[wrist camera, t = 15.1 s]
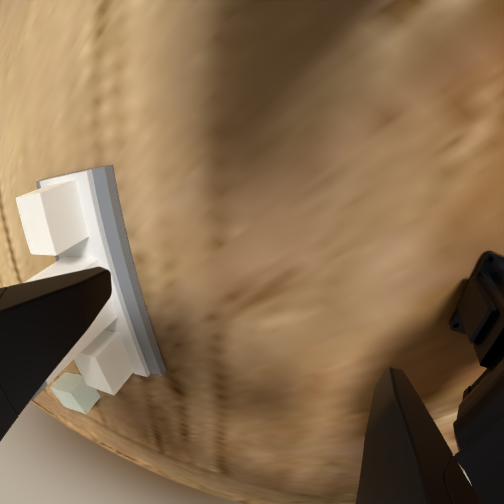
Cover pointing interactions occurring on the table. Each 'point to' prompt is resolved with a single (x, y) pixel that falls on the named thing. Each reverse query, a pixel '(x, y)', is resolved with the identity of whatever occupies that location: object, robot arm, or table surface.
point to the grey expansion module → (99, 323)
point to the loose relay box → (75, 392)
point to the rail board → (110, 256)
